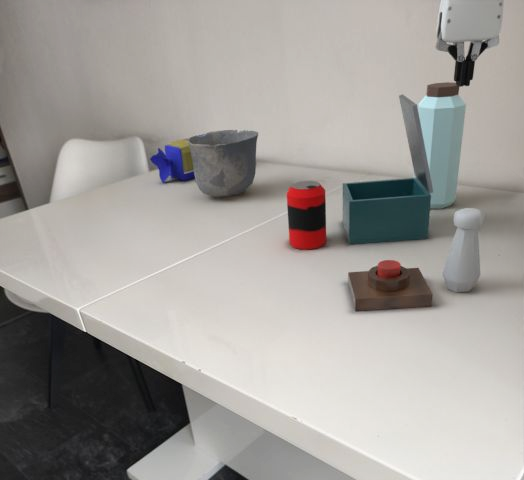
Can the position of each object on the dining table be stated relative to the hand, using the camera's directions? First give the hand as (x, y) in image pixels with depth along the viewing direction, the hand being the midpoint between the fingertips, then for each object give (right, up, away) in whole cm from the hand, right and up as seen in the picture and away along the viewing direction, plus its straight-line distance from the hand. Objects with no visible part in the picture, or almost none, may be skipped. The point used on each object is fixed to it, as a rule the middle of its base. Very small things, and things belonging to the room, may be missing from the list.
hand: (462, 85), depth 98 cm
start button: (-16, -36, -11) cm, 41 cm away
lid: (-7, -9, +6) cm, 13 cm away
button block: (-16, -39, -9) cm, 43 cm away
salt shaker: (-4, -38, -9) cm, 39 cm away
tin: (-11, -23, +15) cm, 30 cm away
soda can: (-27, -27, +13) cm, 40 cm away
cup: (-45, -7, +46) cm, 65 cm away
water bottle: (+3, -14, +27) cm, 31 cm away
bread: (-57, +6, +68) cm, 89 cm away
